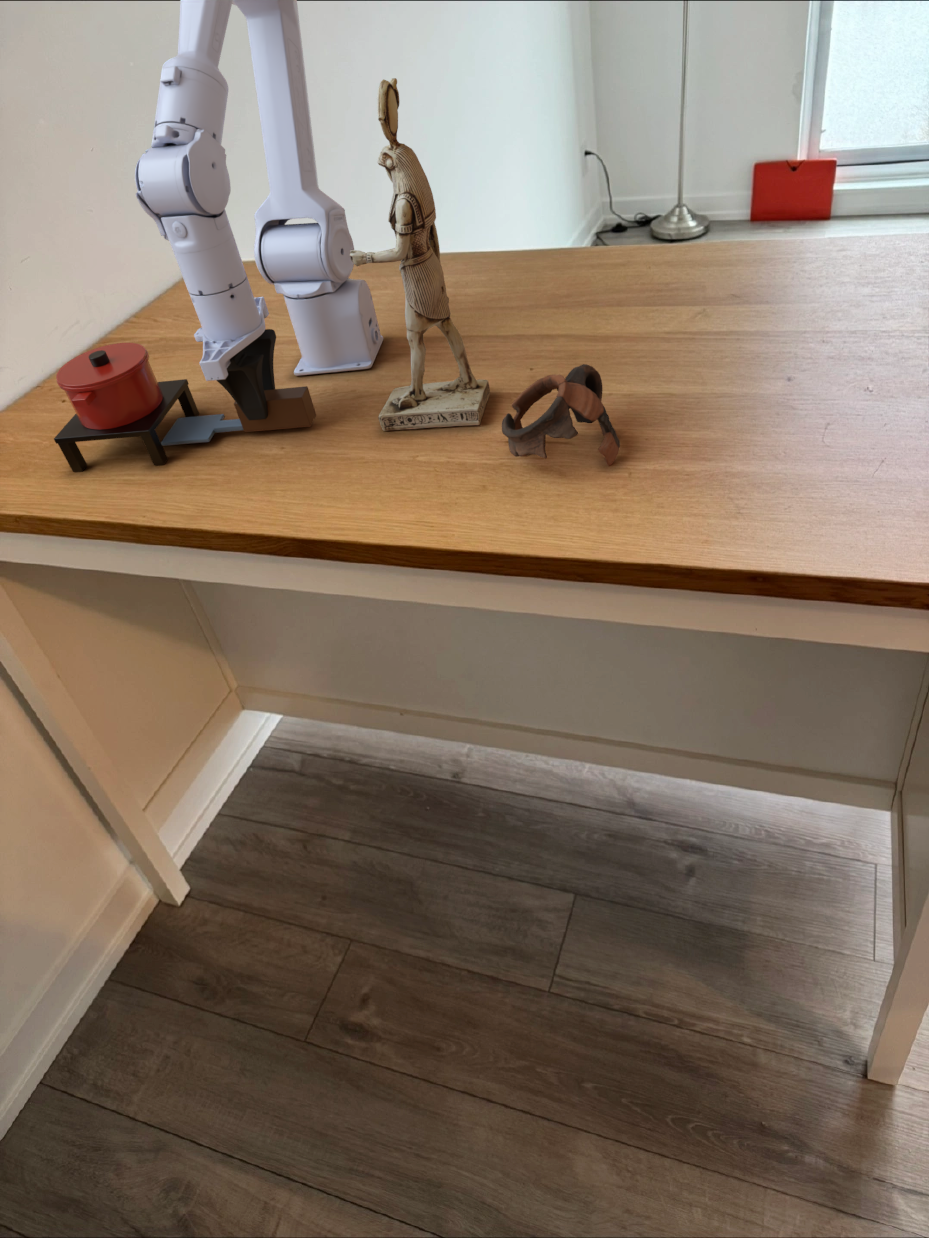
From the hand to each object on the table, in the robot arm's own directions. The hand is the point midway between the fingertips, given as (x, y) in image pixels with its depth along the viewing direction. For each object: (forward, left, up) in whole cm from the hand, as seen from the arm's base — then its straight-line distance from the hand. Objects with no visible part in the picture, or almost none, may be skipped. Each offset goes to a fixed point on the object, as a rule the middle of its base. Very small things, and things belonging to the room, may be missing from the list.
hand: (262, 410), depth 92 cm
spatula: (+3, 0, -2) cm, 3 cm away
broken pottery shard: (-32, +8, -3) cm, 33 cm away
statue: (-18, -1, -3) cm, 19 cm away
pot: (+16, 0, -2) cm, 16 cm away
